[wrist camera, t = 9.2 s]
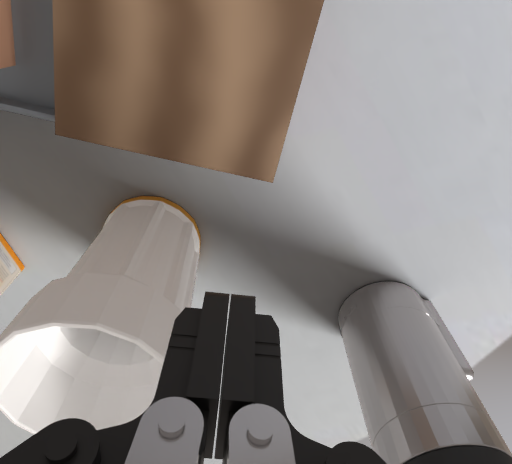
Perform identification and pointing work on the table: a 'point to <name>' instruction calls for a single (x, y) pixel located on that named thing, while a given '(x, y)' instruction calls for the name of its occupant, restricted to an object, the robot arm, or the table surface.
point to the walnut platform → (183, 77)
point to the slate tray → (30, 62)
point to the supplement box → (8, 265)
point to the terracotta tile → (6, 35)
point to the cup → (103, 322)
